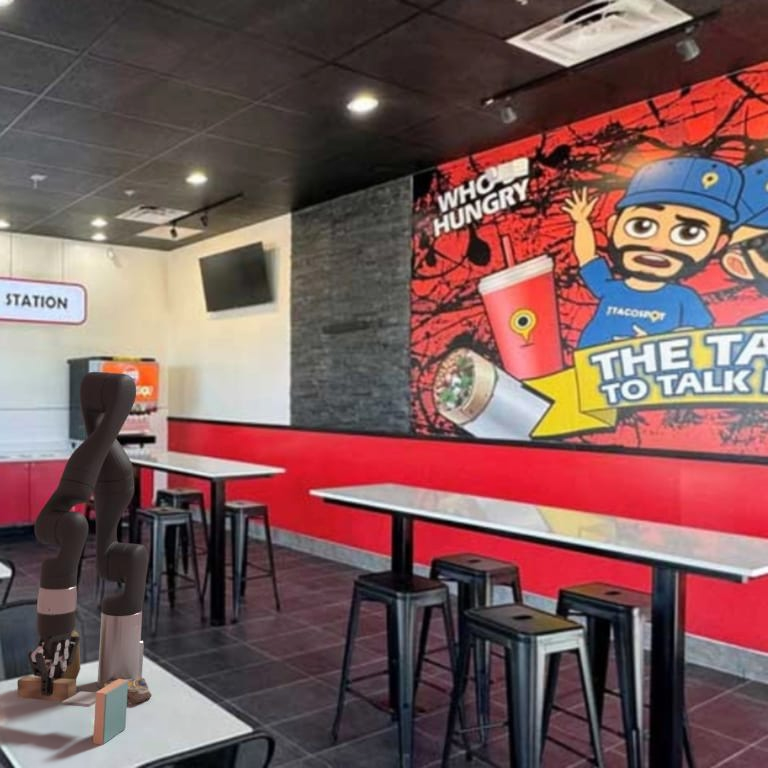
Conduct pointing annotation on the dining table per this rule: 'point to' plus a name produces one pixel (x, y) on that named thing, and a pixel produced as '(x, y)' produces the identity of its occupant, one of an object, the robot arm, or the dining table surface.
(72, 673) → the squeeze bottle
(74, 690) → the wooden bar with blade
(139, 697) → the ceramic tile fragment
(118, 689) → the tile
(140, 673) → the robot arm
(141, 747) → the dining table surface
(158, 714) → the dining table surface
